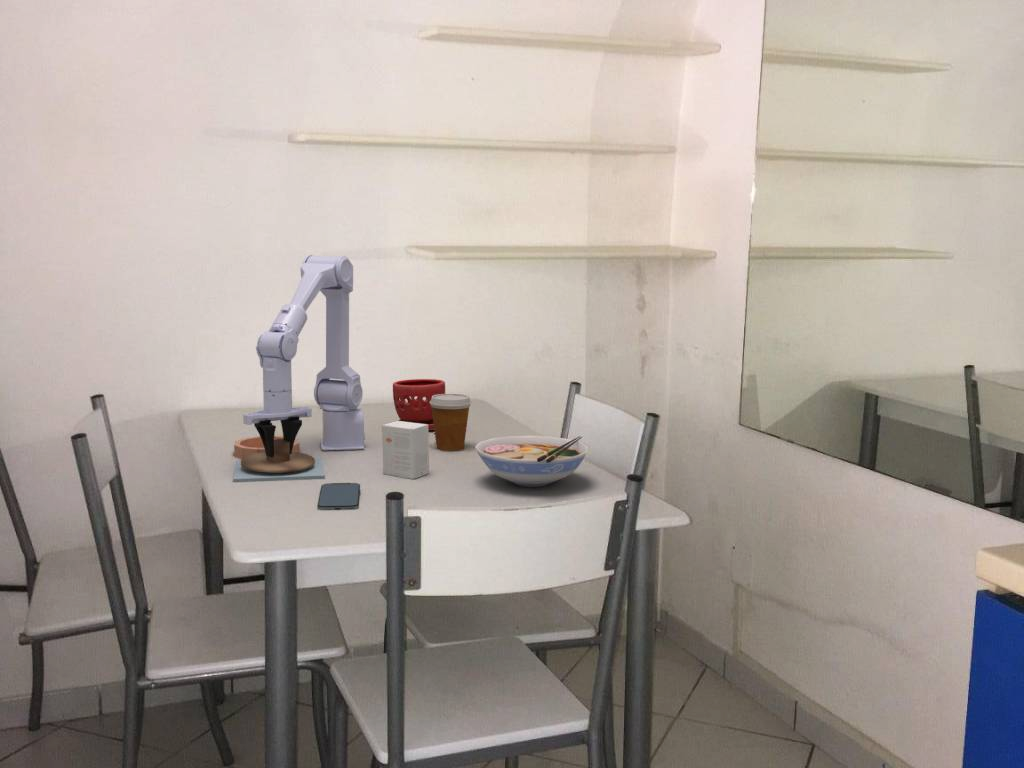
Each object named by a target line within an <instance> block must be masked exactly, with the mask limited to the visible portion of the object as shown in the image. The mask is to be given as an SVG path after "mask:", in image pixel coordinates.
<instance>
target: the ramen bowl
mask: <svg viewBox="0 0 1024 768" xmlns="http://www.w3.org/2000/svg"><path fill="white" fill-rule="evenodd" d="M580 439H583V436H579V435H578V436H577V437H575V438H574V439H570V438H563V437H556V436H551V435H549V436H548V435H546V436H544V435H507V436H499V437H491V438H489V439H486V440H485V439H484V440H482V441H479V442H477V444H476V445H475V446H474V447H475V450H476V452H477V454H478V456H479V457H480V459H481V461H482V462H483V463H484V465H485V466H486V467H487V468H488V469H489V471H490V472H491V473H493V474H494V475H496V476H497V477H499V478H501V479H504V480H506V481H510V482H512V483H513V484H514V485H517V486H520V487H526V488H536V487H539V488H540V487H545V486H548V485H549V484H551V483H554V482H556V481H559V480H562V479H564V478H566V477H568V476H570V475H572V474H573V473H574V472H575V471H576V470H577V469H578V468H579V466H580V465H581V464H582V462H583V460H584V458H585V457H586V455H587V453H588V450H589V446H587V445H586V444H585V443H583V442H580Z"/></svg>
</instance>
